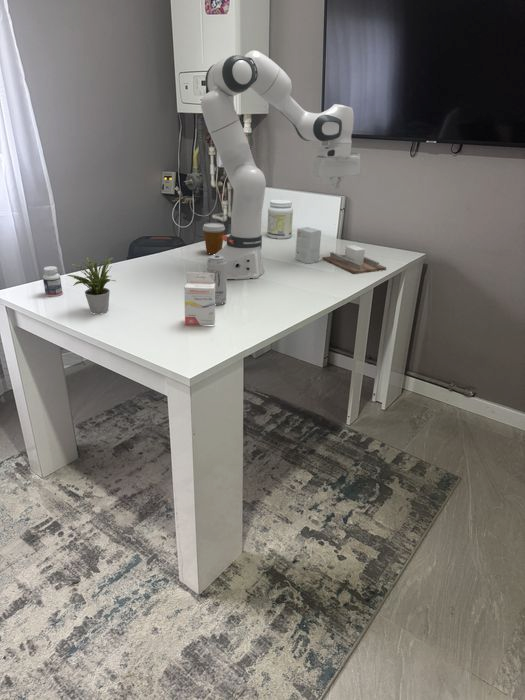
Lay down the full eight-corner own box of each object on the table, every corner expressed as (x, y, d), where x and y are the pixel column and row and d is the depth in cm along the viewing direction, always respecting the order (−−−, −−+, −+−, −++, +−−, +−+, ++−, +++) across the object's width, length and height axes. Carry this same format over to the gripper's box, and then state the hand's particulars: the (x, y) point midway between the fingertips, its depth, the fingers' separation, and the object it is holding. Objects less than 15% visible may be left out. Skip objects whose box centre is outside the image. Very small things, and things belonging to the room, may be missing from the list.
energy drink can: (205, 305, 160) (204, 258, 153) (209, 298, 165) (209, 253, 159) (224, 306, 159) (224, 260, 153) (228, 300, 164) (228, 255, 158)
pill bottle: (45, 292, 165) (41, 266, 161) (62, 291, 167) (58, 265, 163) (45, 297, 161) (41, 270, 157) (62, 296, 163) (59, 269, 159)
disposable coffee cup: (204, 249, 220) (204, 222, 215) (226, 250, 220) (226, 223, 215) (201, 255, 212) (200, 227, 206) (223, 256, 212) (223, 228, 206)
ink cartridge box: (184, 326, 144) (182, 276, 137) (186, 319, 148) (184, 271, 142) (214, 326, 144) (214, 277, 138) (215, 320, 149) (215, 272, 142)
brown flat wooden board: (353, 274, 195) (354, 266, 194) (322, 259, 213) (322, 252, 211) (385, 269, 202) (387, 262, 201) (353, 255, 219) (353, 249, 218)
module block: (354, 265, 203) (355, 250, 200) (344, 260, 209) (345, 246, 206) (363, 263, 205) (364, 249, 202) (352, 259, 211) (354, 245, 208)
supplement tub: (280, 232, 256) (281, 198, 248) (296, 237, 248) (299, 202, 240) (261, 235, 249) (263, 200, 241) (278, 240, 240) (280, 204, 233)
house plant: (96, 298, 162) (91, 248, 155) (133, 305, 157) (129, 254, 150) (66, 313, 150) (58, 259, 143) (104, 321, 145) (98, 266, 138)
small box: (319, 261, 210) (321, 230, 204) (308, 264, 206) (310, 232, 200) (305, 257, 215) (307, 226, 209) (294, 259, 211) (296, 228, 206)
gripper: (356, 150, 200) (352, 186, 206) (312, 150, 191) (309, 188, 197) (365, 151, 195) (361, 188, 201) (321, 151, 186) (318, 190, 192)
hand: (335, 188), depth 199 cm, fingers closed
